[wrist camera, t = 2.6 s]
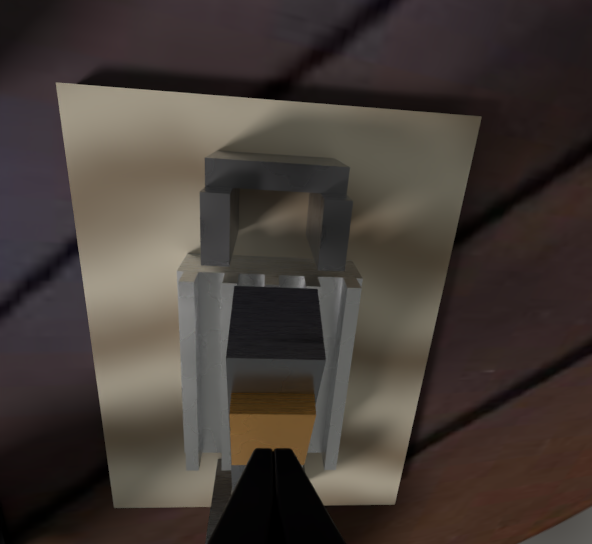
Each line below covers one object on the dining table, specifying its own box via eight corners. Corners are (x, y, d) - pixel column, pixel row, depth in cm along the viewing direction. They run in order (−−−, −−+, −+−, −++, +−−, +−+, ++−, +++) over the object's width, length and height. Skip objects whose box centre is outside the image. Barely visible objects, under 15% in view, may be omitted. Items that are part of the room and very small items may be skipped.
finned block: (331, 420, 23) (341, 470, 20) (192, 419, 22) (179, 470, 19) (351, 260, 19) (368, 288, 16) (187, 252, 19) (170, 281, 15)
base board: (388, 484, 27) (394, 504, 26) (122, 487, 26) (114, 507, 24) (465, 116, 19) (481, 116, 17) (72, 85, 17) (55, 82, 16)
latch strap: (281, 499, 22) (281, 566, 20) (238, 499, 22) (234, 567, 20) (317, 288, 11) (328, 381, 9) (234, 285, 11) (223, 380, 9)
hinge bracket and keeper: (301, 483, 25) (310, 584, 19) (217, 483, 24) (203, 588, 19) (334, 158, 17) (363, 175, 12) (217, 150, 17) (193, 163, 12)
